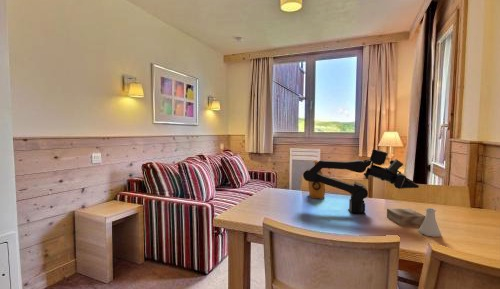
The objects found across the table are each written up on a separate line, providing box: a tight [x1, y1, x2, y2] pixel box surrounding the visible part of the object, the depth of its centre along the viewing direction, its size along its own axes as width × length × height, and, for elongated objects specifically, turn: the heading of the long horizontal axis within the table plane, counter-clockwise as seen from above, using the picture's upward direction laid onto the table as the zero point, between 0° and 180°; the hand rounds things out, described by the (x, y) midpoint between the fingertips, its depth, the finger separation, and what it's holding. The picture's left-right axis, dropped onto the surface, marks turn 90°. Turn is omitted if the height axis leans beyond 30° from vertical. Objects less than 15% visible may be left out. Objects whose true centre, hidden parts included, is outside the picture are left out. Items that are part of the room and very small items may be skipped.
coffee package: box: [308, 159, 326, 199], centre depth 161 cm, size 10×12×22 cm
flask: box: [418, 207, 442, 238], centre depth 103 cm, size 7×7×10 cm
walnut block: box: [386, 208, 426, 226], centre depth 118 cm, size 11×11×4 cm
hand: (416, 184), depth 121 cm, fingers open, 9 cm apart
